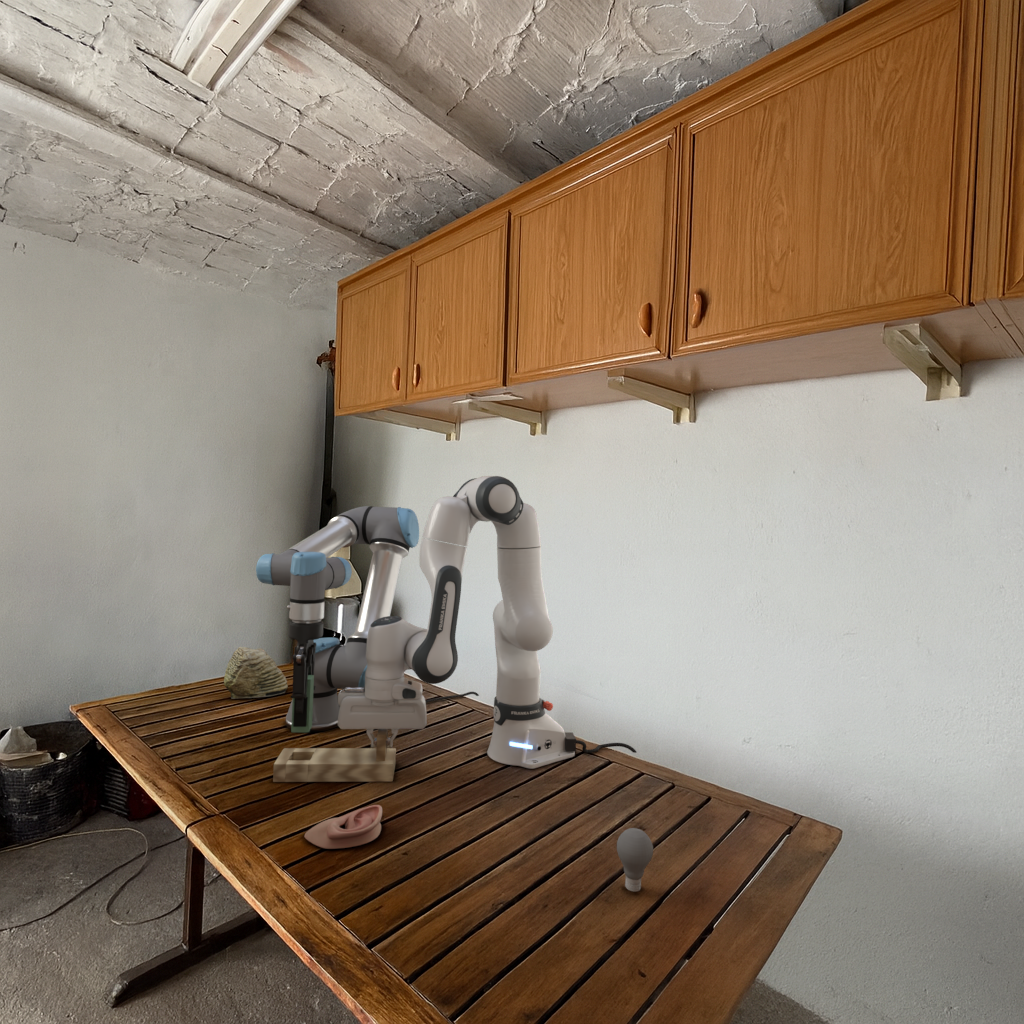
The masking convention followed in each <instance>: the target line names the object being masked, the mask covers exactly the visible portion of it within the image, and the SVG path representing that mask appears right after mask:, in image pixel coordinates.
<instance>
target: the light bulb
mask: <svg viewBox="0 0 1024 1024" xmlns="http://www.w3.org/2000/svg"><path fill="white" fill-rule="evenodd" d="M616 852H617V856H618V858H619V860H620V862H621V864H622V866H623V872H624V875H625V882H624V887H625V889H627V890H628V891H630V892H633V893H634V892H635V893H636V892H639V891H641V889H642V878H643V876H644V875H645V869H646V868H647V867H648V865H649V864H650V862H651V860H652V858H653V855H654V845H653V842H652V840H651V838H650V836H649V835H648V834H647V832H645V831H644V830H642V829H640V828H636V827H629V828H627V829H625V830H624V831H623V832H622V833H620V835H619V836H618V839H617V841H616Z"/></svg>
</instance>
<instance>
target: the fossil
mask: <svg viewBox="0 0 1024 1024" xmlns="http://www.w3.org/2000/svg"><path fill="white" fill-rule="evenodd" d="M231 655H232V656H231V658H230V659H229V661H228V663H227V666H226V669H225V673H224V677H223V678H224V679H223V686H224V687H225V688H226V689H227V691H228V692H229V693H230V696H231V697H230V698H231V699H233V700H234V699H235V700H236V699H237V700H238V699H252V698H253V699H255V698H258V699H259V698H266V697H273V696H274V697H275V696H277V695H282V694H285V693H286V691H287V690H288V687H289V685H288V680H287V678H286V676H285V674H284V673H283V671H282V669H280V668H279V667H278V666H277V663H276V661H274V659H273V658H272V657H271V656H270V655H269V654H268V653H267V651H265V649H263V648H255V649H254V648H251V647H247V646H239V647H238V648H237V649H236V650H235V651H233V654H231Z"/></svg>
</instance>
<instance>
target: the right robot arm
mask: <svg viewBox="0 0 1024 1024" xmlns="http://www.w3.org/2000/svg"><path fill="white" fill-rule="evenodd" d="M538 519H539V518H538V515H537V510H536V509H535V508H534V507H533V506H532V505H530V504H528V503H526V502H524V501H523V499H522V497H521V496H520V493H519V490H518V488H517V487H516V485H515V484H514V483H513V482H512V481H511V480H510V479H508V478H506V477H503V476H500V475H482V476H479V477H476V478H471V479H468V480H467V481H465V482H464V483H463V484H462V485H461V486H460V487H459V488H458V490H457V491H456V492H455V493H454V494H453V496H451V495H447V496H442V497H440V498H437V499H436V500H435V501H434V502H433V504H432V506H431V509H430V511H429V514H428V516H427V519H426V522H425V525H424V529H423V532H422V536H421V537H422V538H421V541H420V547H419V557H418V558H419V559H418V561H419V562H418V563H419V567H420V570H421V571H422V573H423V575H424V577H425V578H426V580H427V582H428V585H429V588H430V593H431V602H430V608H429V616H428V621H427V622H428V623H427V628H425V627H424V628H423V627H421V626H420V627H419V626H416V625H414V624H413V623H410V622H408V621H407V620H405V619H404V618H403V617H401V616H398V615H390V616H387V617H382V618H379V619H377V620H375V621H374V622H373V623H372V624H371V625H370V628H369V631H368V636H367V645H366V659H367V669H366V672H365V687H357V688H356V687H355V688H351V687H346V688H345V689H340V690H339V692H337V695H338V704H339V706H340V709H339V715H338V726H337V727H338V728H339V729H340V730H366V736H367V737H368V739H369V741H370V748H376V746H377V737H375V735H374V730H378V729H388V730H391V736H390V737H388V738H387V740H386V748H394V747H393V746H394V741H395V739H396V737H397V735H398V733H399V730H423V729H425V728H426V727H427V724H428V721H427V720H428V712H427V711H428V710H427V703H426V702H425V700H426V697H425V696H424V695H423V691H424V689H423V684H422V683H421V682H419V681H416V680H413V679H411V678H407V677H405V673H406V671H407V670H412V671H413V672H414V674H415V675H416V676H417V678H418V679H419V680H421V681H422V682H424V683H426V684H428V685H429V684H430V685H436V684H441V683H443V682H445V681H447V680H449V678H450V677H451V676H452V675H453V674H454V672H455V671H456V669H457V666H458V662H459V659H458V658H459V655H458V650H457V644H456V633H457V624H458V617H459V610H460V603H461V594H462V583H463V572H464V566H465V560H466V556H467V550H468V546H469V540H470V535H471V532H472V530H473V529H474V527H475V525H476V524H477V523H478V522H486V523H488V522H491V523H492V524H493V526H494V529H495V532H496V551H497V552H496V555H497V558H496V559H497V579H498V583H499V587H500V591H501V597H502V600H500V601H498V603H496V605H495V606H494V609H493V611H492V621H493V630H494V646H495V657H496V691H495V697H494V700H493V713H492V714H493V727H492V732H491V737H490V742H489V744H488V745H489V746H488V748H487V751H486V754H487V756H488V757H489V758H490V759H491V760H492V761H494V762H496V763H499V764H504V765H508V766H509V765H510V766H515V767H516V766H518V767H522V768H526V769H530V770H531V769H537V768H540V767H541V768H542V767H544V766H547V765H550V764H554V763H556V762H560V761H563V760H567V759H570V758H573V757H575V756H576V753H575V752H576V751H577V745H581V746H582V752H583V753H585V754H593V753H597V752H599V751H600V749H605V748H613V747H621V748H626V749H628V750H629V751H630V752H632V753H633V754H634V753H635V754H636V753H637V750H636V749H635V748H634V747H632V746H631V745H630V744H627V743H623V742H609V743H603V744H602V743H601V744H598V745H596V747H595V748H591V749H587V744H586V742H584V741H583V740H581V739H577V738H576V736H575V734H574V732H572V731H571V732H567V731H566V732H565V730H564V728H563V727H562V726H561V724H560V723H558V722H557V721H556V720H555V719H554V718H553V717H551V716H550V715H549V714H548V713H546V710H547V711H548V712H551V711H552V710H553V709H554V704H553V703H552V702H550V701H548V700H546V701H545V700H544V699H542V698H541V697H540V696H541V672H542V670H541V664H540V660H539V655H538V651H540V650H543V649H544V648H546V647H547V646H548V645H549V643H550V642H551V640H552V638H553V632H554V627H553V623H552V622H551V621H552V620H551V619H550V614H549V610H548V602H547V598H546V592H545V587H544V582H543V573H542V572H543V571H542V570H543V569H542V545H541V543H542V542H541V541H542V540H541V531H540V524H539V520H538Z"/></svg>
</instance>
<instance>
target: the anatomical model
mask: <svg viewBox="0 0 1024 1024" xmlns="http://www.w3.org/2000/svg"><path fill="white" fill-rule="evenodd" d="M382 817H383V807H382V805H380V804H372V805H369V806H365V807H362V808H358V809H356V810H353V811H351V812H348V813H346V814H344V815H341V816H339V817H332V818H328V819H326V820H323V821H321V822H319V823H317V824H316V825H314V826H312V827H311V828H309V829H308V830H307V831H306V832H305V834H304V836H303V837H304V838H305V840H306V841H308V842H309V843H311V844H312V845H314V846H317V847H318V848H321V849H325V850H335V849H337V850H338V849H345V848H352V847H358V846H362V845H365V844H368V843H370V842H372V841H374V840H376V839H377V838H378V837H379V836H380V834H381V831H382V824H381V820H382Z"/></svg>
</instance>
